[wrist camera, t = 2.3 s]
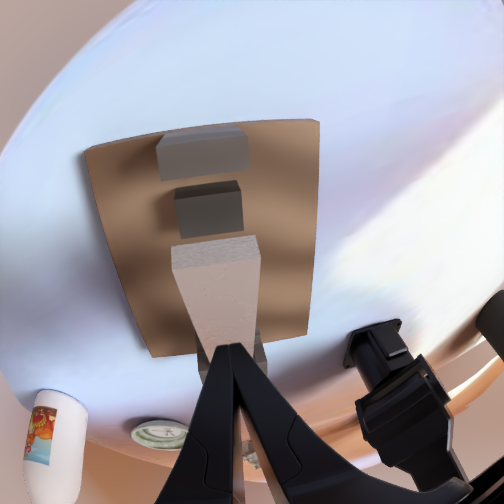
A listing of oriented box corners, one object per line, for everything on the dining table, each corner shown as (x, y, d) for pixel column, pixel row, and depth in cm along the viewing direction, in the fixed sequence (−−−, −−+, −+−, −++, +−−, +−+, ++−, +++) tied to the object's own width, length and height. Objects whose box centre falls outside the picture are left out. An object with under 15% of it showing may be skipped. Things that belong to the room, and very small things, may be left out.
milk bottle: (82, 394, 28) (71, 544, 11) (93, 420, 32) (89, 546, 15) (30, 382, 26) (6, 520, 9) (46, 410, 30) (32, 529, 13)
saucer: (119, 412, 31) (118, 427, 29) (189, 407, 32) (190, 424, 30) (145, 439, 36) (145, 452, 34) (205, 435, 37) (206, 448, 35)
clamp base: (302, 323, 27) (321, 369, 22) (153, 345, 25) (150, 394, 21) (310, 118, 17) (351, 132, 13) (92, 146, 16) (56, 170, 11)
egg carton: (250, 451, 45) (253, 470, 41) (232, 441, 40) (236, 462, 37) (305, 434, 44) (311, 453, 40) (294, 422, 40) (300, 444, 36)
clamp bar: (249, 355, 23) (252, 371, 22) (213, 361, 23) (215, 377, 22) (254, 230, 11) (262, 262, 10) (171, 241, 10) (172, 274, 9)
